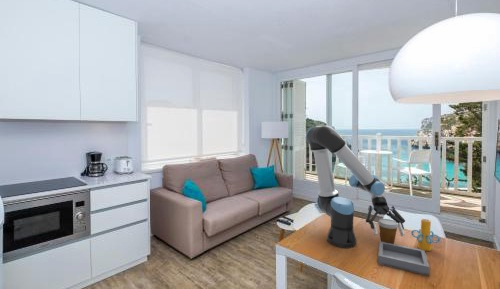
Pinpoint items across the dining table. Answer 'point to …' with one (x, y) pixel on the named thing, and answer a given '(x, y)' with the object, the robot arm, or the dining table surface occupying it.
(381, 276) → the dining table surface
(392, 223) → the disposable coffee cup
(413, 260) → the grey tray
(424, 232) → the yellow post with rings
